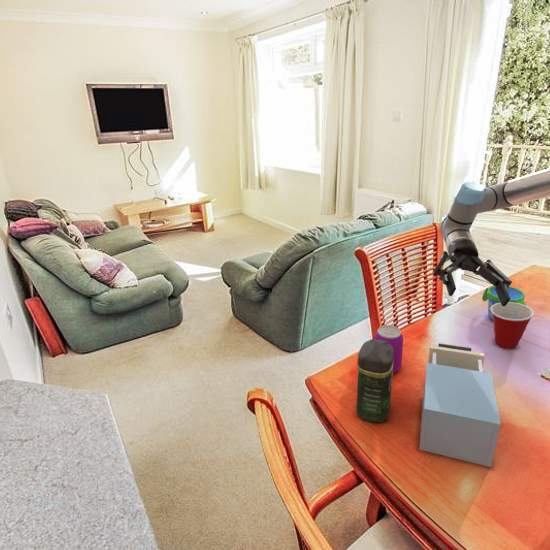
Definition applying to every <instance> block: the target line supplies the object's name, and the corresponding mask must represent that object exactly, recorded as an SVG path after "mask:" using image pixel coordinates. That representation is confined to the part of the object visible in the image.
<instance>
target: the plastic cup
mask: <svg viewBox="0 0 550 550" xmlns="http://www.w3.org/2000/svg"><path fill="white" fill-rule="evenodd" d="M490 310H491V312H492V314H493V318H494V321H493V333H494V343H495V345H497V346H498V347H499V348H502V349H505V350H514V349H516V348H517V347H518V345H519V343H520V341H521V340H522V337H523V336H524V333H525V331H526V329H527V327H528V325H529V322H530V321H531V319H532V318H533V317H534V315H535V311H534V310H533V309H532V308H531V307H529V306H528V305H523V304H519V303H513V302H508V303H507V305H506V306H505V307H504V306H502V305H501V303H496V304H494V305H492V306H491V309H490Z"/></svg>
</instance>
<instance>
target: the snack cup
mask: <svg viewBox="0 0 550 550" xmlns="http://www.w3.org/2000/svg"><path fill="white" fill-rule="evenodd" d="M495 288H496V287H495V286H494V285H492V286H490V287H489V286H488V287H487V288H485V290H484V291H483V294H482V296H481V297H482V298H481V301H483V302H487V317H488V318H489V319H490V320H491V321H493V322H494V318H493V314H492V312H491V310H490V309H491V306H492V305H494V304H496V303H501V302H500V300H499V298H498V295H497V293H496V291H495ZM508 291H509V293H508V295H509V297H510V301H509V302H513V303H519V304H523V305H526V302H525V298H526V294H525V292H524V291H522V290H521V289H519V288H517V287H513V286H511V285H510V286H509V288H508ZM526 306H527V305H526Z"/></svg>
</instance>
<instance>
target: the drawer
mask: <svg viewBox="0 0 550 550" xmlns="http://www.w3.org/2000/svg"><path fill="white" fill-rule="evenodd" d="M485 357H486V355H485V353H484V352H478V351H477V352H476V351H472V347H469V346H463V345H462V346H461V345H456V344H455V345H454V344H449V343H442V342H441V343H440V342H438V346H437V345H429V352H428V360H427V363H431V364H438V365H444V366H450V367H456V368H462V369H468V370H474V371H480V372H484V362H485Z"/></svg>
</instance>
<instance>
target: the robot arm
mask: <svg viewBox="0 0 550 550" xmlns="http://www.w3.org/2000/svg"><path fill="white" fill-rule="evenodd" d="M548 198H550V167H549V168H546V169H542V170H540V171H536V172H533V173H530V174H527V175H523V176H521V177H518V178H514V179H511V180H508V181H504V182H500V183H498V184H493V185H490V186H485V185H484V184H482V183H480V182H477V181H464V182H462V183H461V184H460V185H459V187H458V189H457V192H456V193H455V195H454V197H453V201H452V204H451V206H450V209H449V211H448V213H447V214H445V215H444V216H443V217H441V220H440V222H439V227H440V228H439V229H440V233H441V235H442V238H443V241H444V244H445V247H446V250H447V251H446V250H444V251H442V253H441V255H440V257H439V262H438V264H437V265H436V267H435V268H434V271H433V272H432V275H433V276H436V277H437V276H439V277H438V280H439V281H442V284H443V285H445V287H446V290H447V294H448V297H452V296H453V295H454V294H455V292H456V290H457V286H456V282H455V280H454V276H453V274H452V273H454V272H455V271H457V270H461V271H467V272H469V273H470V272H471V273H473V274H475V276H480V277H481V278H482V279H484V280H485V281H486V282H488V283H489V284H491V285H492V286H495V287H496V288H495V291H496V293H497V295H498V298H499V300H500V302H501V305H502V306H504V307H505V306H506V305H507V303H508V302H509V301H510V297H509V295H508V293H509V291H508V288H509V286H510V287H511V285H512V284H513V280H511V279H510V278H509V277H508V276H507V275H506V274H504V272H502V270H500V269H499V268H498V267H497V266H495V264H494V262H493V261H492V260H491V259H486V261H484V260H482V259H481V258H480V257H479V250H478V248H477V246H476V243H475V241H474V238H473V236H472V234H471V230H470V229H471V228H472V225H473V223H474V222H475V220H476V217H477V215H478V214H482V213H487V212H491V211H497V210H502V209H508V208H511V207H514V206H517V205H521V204H527V203H530V202H534V201H538V200H543V199H548ZM449 261H450V262H451V263H450V264H449V265H448V266H446V267H445V268H444V269H443V267H444V266H445V264H446V263H447V262H449Z"/></svg>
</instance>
